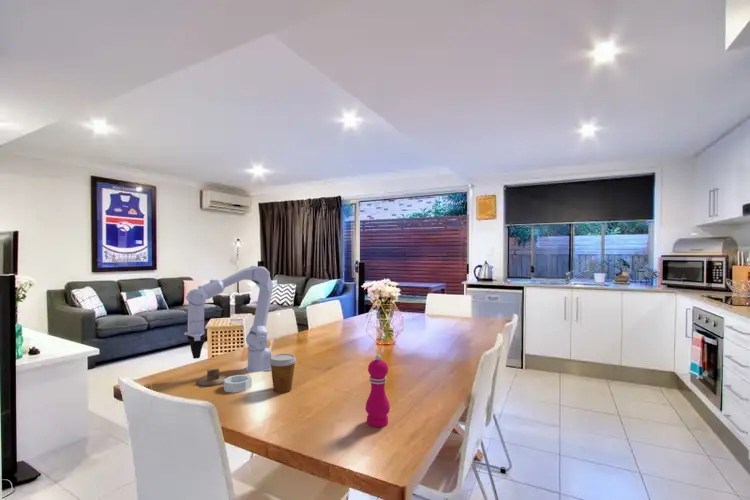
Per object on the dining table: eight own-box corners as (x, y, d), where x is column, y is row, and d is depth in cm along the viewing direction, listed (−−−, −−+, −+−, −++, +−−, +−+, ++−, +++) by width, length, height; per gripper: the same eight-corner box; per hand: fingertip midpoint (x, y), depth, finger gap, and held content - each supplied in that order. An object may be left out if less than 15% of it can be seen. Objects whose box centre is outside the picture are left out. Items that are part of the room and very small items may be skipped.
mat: (224, 376, 147) (224, 375, 147) (229, 384, 139) (229, 383, 139) (197, 380, 142) (197, 379, 142) (199, 389, 134) (199, 388, 134)
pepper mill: (364, 417, 112) (365, 351, 112) (388, 416, 113) (388, 351, 113) (366, 428, 105) (366, 358, 105) (391, 427, 105) (391, 358, 106)
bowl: (247, 382, 141) (247, 373, 141) (253, 390, 133) (253, 380, 133) (222, 386, 136) (222, 377, 136) (226, 395, 128) (226, 385, 128)
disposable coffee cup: (300, 387, 137) (301, 354, 137) (286, 396, 128) (287, 361, 128) (278, 384, 140) (279, 352, 140) (263, 392, 131) (263, 359, 131)
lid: (224, 375, 147) (225, 364, 147) (229, 383, 139) (229, 371, 139) (197, 379, 142) (197, 368, 142) (199, 388, 134) (200, 375, 134)
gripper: (183, 318, 146) (183, 352, 146) (185, 324, 133) (184, 362, 133) (203, 316, 150) (202, 350, 149) (206, 322, 137) (206, 359, 137)
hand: (195, 355), depth 142 cm, fingers open, 7 cm apart
